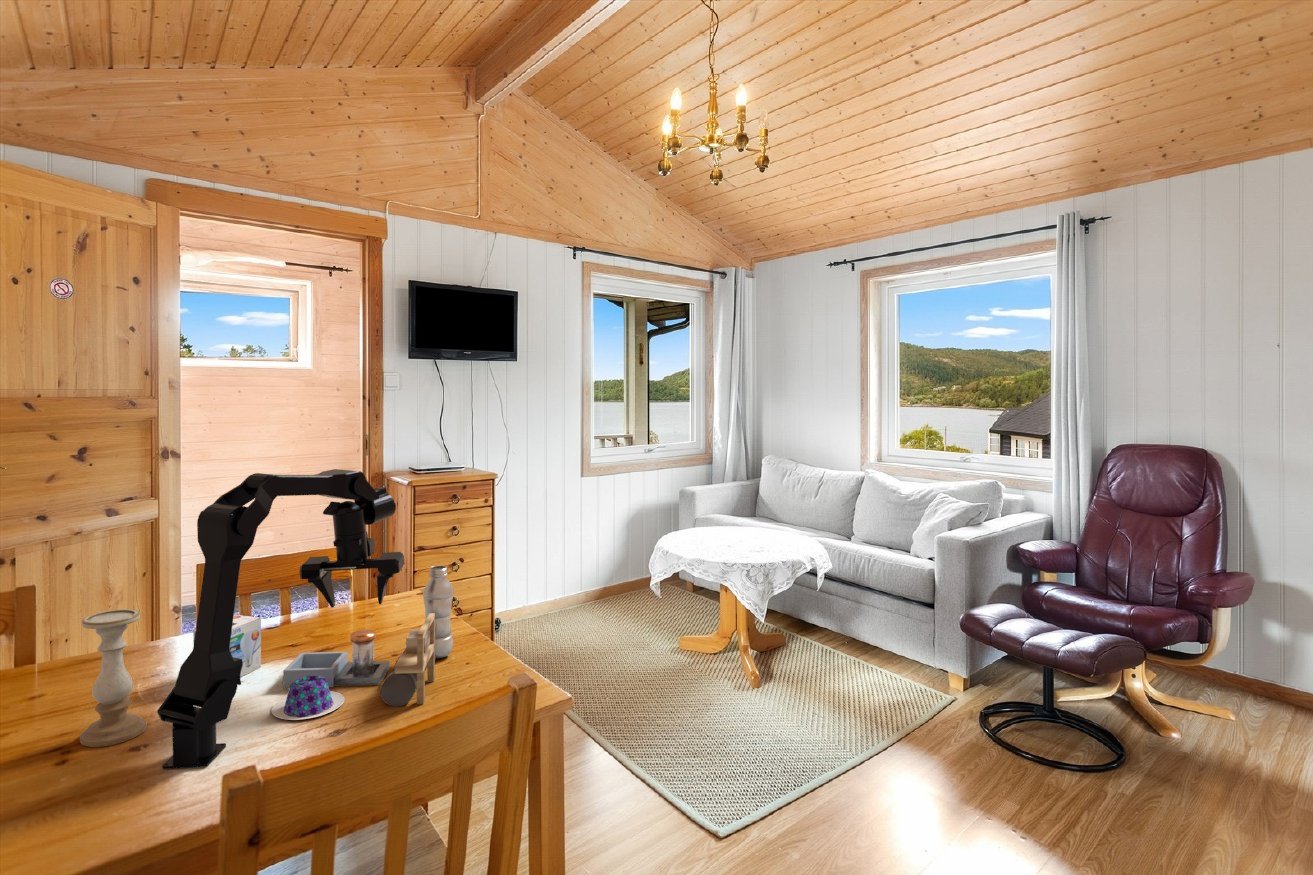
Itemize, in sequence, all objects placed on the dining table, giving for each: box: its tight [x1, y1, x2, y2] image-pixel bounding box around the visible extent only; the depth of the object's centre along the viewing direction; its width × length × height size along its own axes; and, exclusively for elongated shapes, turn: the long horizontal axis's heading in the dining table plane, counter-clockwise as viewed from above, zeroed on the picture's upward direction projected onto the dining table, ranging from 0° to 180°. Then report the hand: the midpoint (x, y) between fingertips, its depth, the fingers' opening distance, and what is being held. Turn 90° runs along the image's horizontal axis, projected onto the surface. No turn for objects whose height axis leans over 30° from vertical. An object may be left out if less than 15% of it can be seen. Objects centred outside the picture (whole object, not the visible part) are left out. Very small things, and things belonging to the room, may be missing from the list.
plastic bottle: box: [422, 565, 454, 660], centre depth 151 cm, size 6×7×20 cm
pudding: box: [271, 675, 345, 721], centre depth 126 cm, size 12×12×5 cm
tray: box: [282, 651, 349, 690], centre depth 138 cm, size 9×9×4 cm
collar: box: [333, 660, 391, 687], centre depth 140 cm, size 8×8×2 cm
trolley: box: [379, 613, 436, 707], centre depth 133 cm, size 12×8×14 cm, turn 8°
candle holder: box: [79, 608, 148, 748], centre depth 114 cm, size 9×9×20 cm
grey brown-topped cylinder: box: [349, 629, 377, 675], centre depth 139 cm, size 5×5×9 cm
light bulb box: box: [192, 614, 262, 678], centre depth 139 cm, size 11×7×11 cm, turn 168°
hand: (357, 605), depth 139 cm, fingers open, 9 cm apart
